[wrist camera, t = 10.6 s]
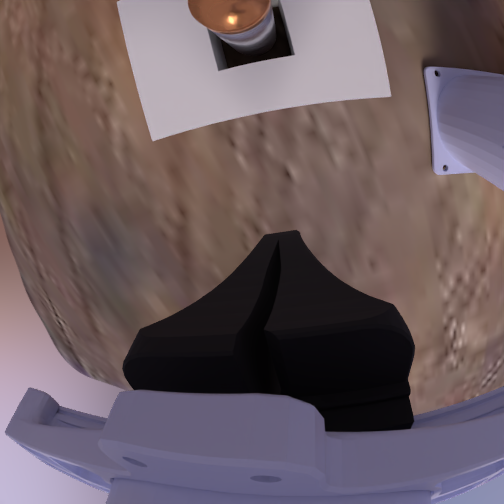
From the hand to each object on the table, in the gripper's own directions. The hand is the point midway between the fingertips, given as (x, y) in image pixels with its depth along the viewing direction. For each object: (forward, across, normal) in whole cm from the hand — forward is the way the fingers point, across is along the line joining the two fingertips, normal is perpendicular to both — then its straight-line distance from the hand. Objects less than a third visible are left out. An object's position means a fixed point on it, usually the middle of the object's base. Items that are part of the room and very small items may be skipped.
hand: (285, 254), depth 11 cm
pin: (+10, 0, -10) cm, 14 cm away
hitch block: (+10, 0, -10) cm, 14 cm away
